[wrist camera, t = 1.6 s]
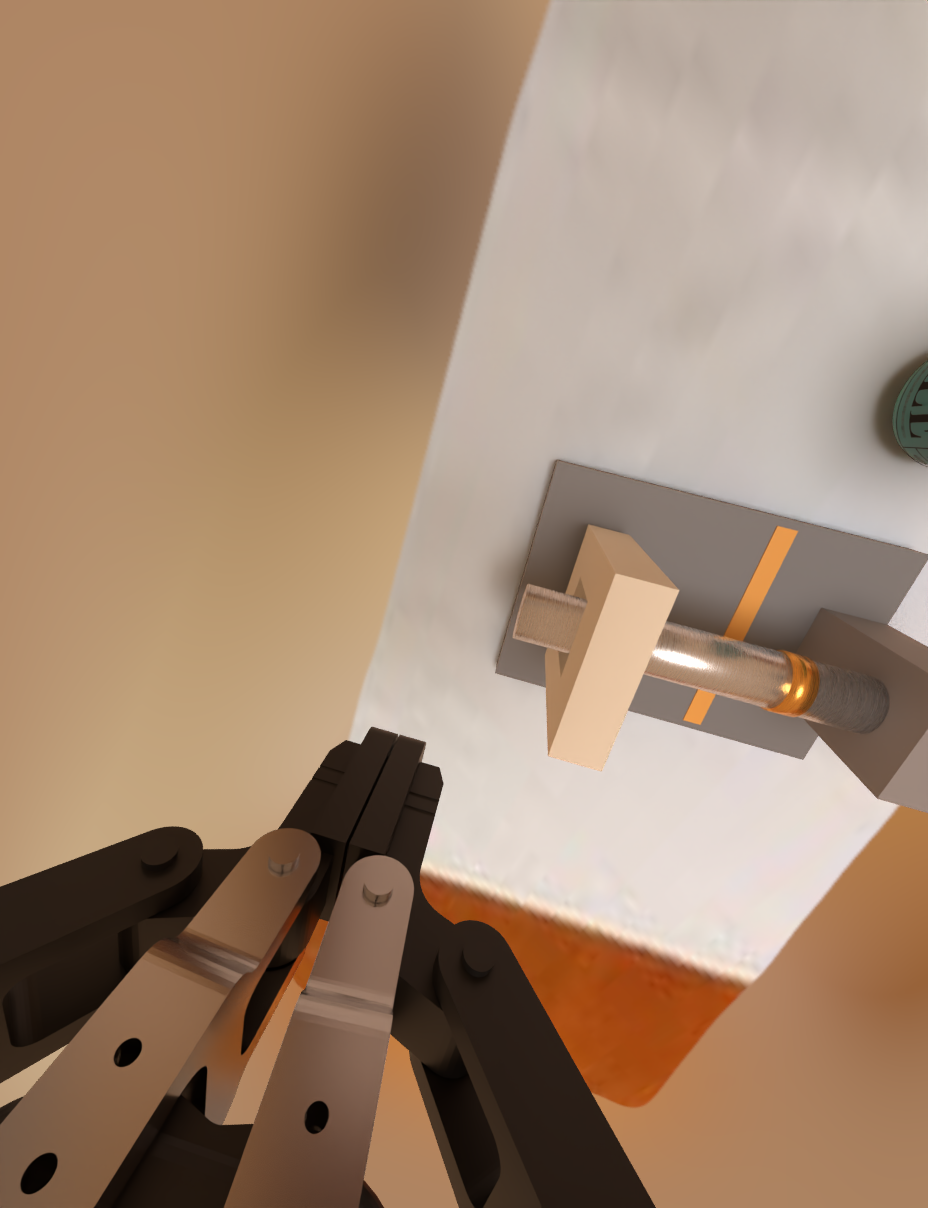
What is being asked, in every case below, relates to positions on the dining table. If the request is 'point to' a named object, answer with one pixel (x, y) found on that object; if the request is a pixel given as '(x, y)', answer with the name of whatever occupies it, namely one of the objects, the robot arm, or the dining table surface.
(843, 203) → the dining table surface
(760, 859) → the dining table surface
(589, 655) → the beige rectangular block
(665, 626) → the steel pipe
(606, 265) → the dining table surface
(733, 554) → the mount board
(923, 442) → the beverage bottle
